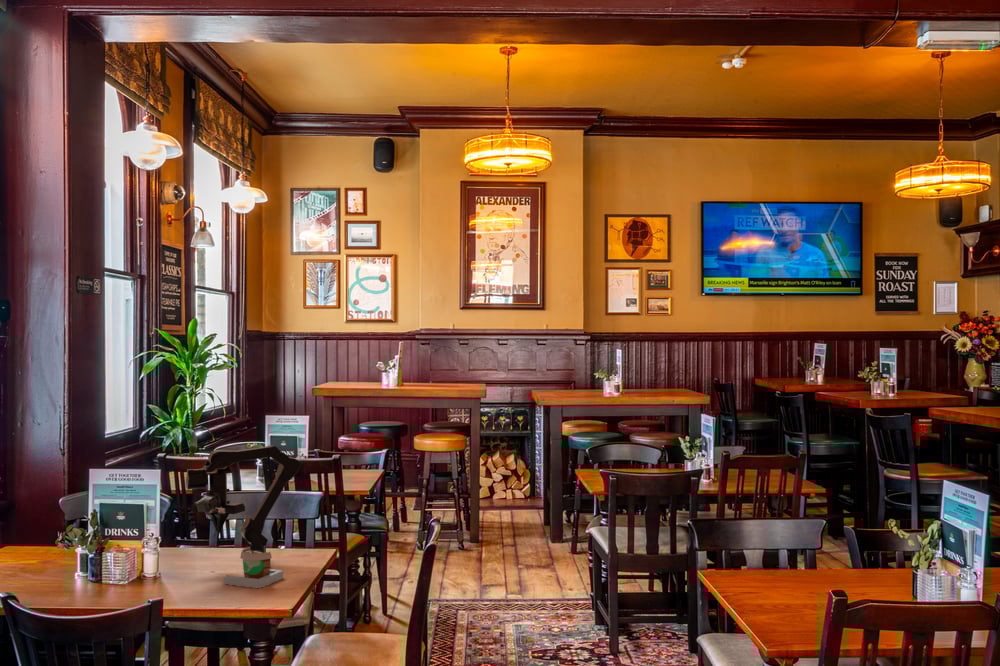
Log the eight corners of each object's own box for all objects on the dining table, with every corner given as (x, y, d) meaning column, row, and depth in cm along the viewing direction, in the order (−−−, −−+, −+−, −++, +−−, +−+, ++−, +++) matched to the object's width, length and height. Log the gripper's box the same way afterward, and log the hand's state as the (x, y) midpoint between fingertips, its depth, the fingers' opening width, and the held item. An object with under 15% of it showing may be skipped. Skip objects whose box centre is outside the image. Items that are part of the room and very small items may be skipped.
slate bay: (248, 574, 266) (248, 566, 266) (283, 578, 260) (283, 570, 260) (223, 584, 255) (223, 576, 255) (259, 588, 249) (259, 580, 249)
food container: (232, 581, 258) (232, 550, 258) (249, 576, 263) (248, 546, 263) (255, 587, 250) (255, 555, 250) (271, 583, 255) (271, 551, 255)
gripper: (179, 489, 272) (180, 535, 272) (223, 492, 265) (223, 539, 265) (203, 484, 282) (203, 528, 282) (245, 486, 275) (246, 532, 275)
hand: (218, 532), depth 276 cm, fingers closed
